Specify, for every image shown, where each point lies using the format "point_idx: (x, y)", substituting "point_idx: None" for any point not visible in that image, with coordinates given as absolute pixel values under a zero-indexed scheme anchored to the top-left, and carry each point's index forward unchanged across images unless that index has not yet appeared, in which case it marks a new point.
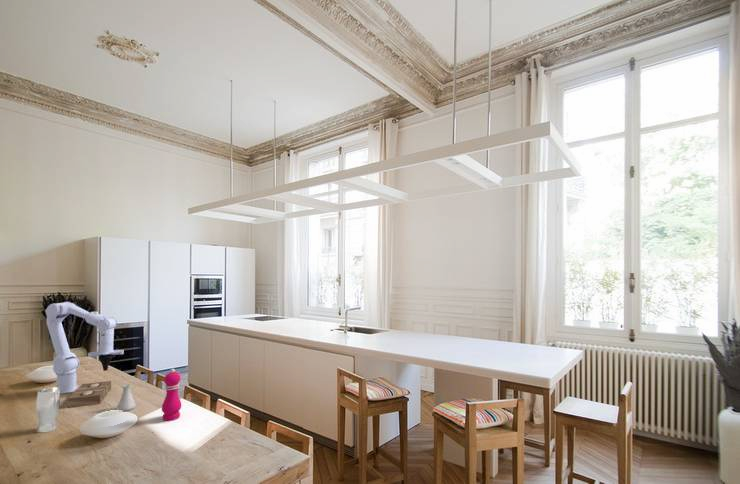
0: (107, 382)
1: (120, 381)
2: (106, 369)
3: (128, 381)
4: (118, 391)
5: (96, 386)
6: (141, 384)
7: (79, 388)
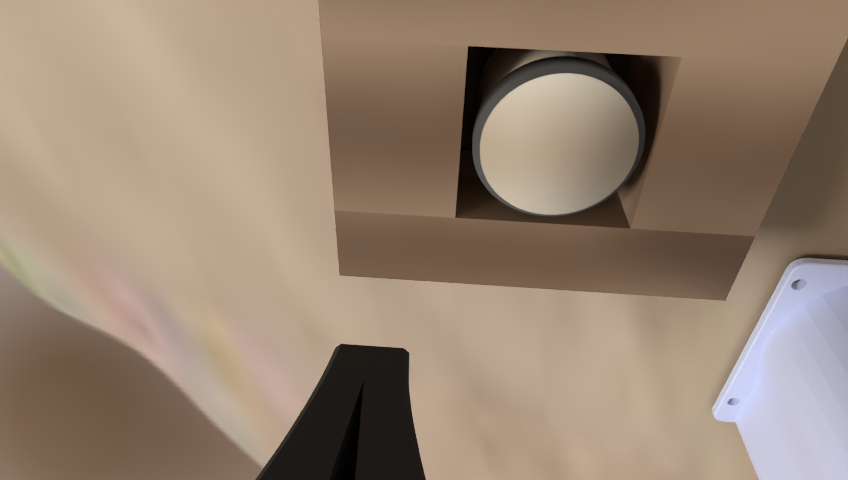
0: (376, 225)
1: None
2: (334, 359)
3: (247, 380)
4: (218, 46)
5: (516, 73)
6: (37, 230)
7: (805, 63)
